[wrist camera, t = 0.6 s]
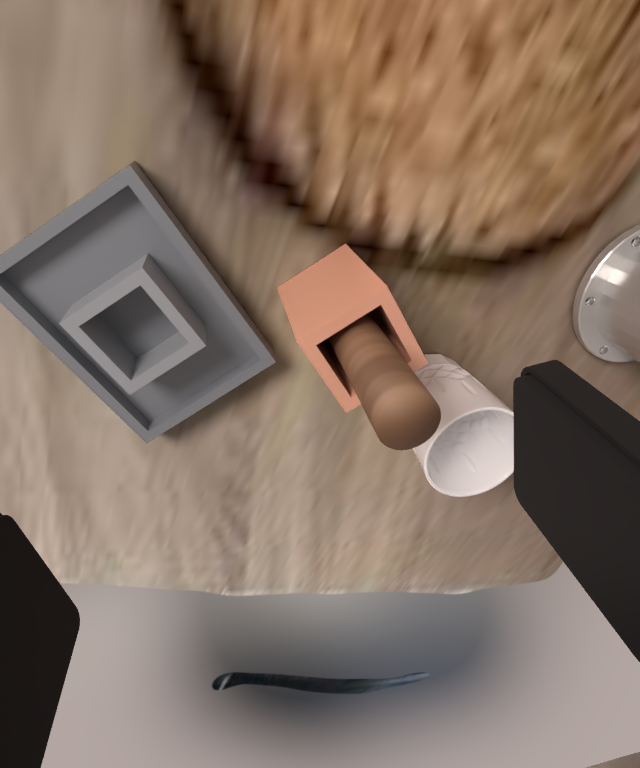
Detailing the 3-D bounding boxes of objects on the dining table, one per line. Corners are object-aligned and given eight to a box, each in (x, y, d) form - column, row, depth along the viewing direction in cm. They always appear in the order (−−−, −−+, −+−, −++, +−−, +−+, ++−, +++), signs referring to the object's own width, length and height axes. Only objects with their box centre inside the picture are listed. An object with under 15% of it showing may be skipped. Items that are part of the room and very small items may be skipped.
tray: (272, 348, 40) (279, 375, 36) (149, 426, 41) (143, 459, 37) (134, 160, 32) (124, 168, 28) (-13, 264, 33) (-43, 285, 29)
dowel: (359, 305, 39) (450, 427, 24) (324, 327, 39) (393, 460, 24) (340, 271, 37) (424, 380, 22) (303, 295, 37) (364, 416, 23)
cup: (381, 307, 40) (428, 363, 31) (317, 347, 40) (346, 412, 32) (345, 243, 37) (387, 285, 28) (277, 287, 37) (297, 342, 29)
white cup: (397, 437, 46) (440, 512, 38) (370, 371, 42) (410, 438, 34) (475, 401, 46) (536, 469, 38) (454, 331, 42) (517, 389, 34)
